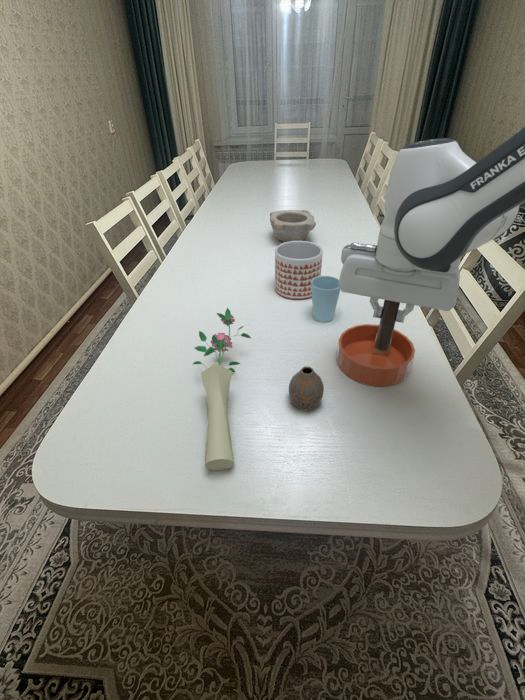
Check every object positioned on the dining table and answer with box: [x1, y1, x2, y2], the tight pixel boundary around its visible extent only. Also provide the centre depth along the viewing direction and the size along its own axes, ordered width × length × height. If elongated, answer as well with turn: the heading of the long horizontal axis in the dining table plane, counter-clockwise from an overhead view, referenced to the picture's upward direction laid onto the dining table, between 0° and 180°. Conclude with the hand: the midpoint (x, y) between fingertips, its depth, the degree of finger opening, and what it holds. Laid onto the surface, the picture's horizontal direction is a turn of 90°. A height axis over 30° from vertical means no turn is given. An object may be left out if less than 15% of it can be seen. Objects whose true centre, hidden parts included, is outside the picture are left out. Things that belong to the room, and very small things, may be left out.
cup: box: [311, 275, 341, 323], centre depth 95 cm, size 8×8×10 cm
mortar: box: [269, 209, 317, 243], centre depth 139 cm, size 17×17×9 cm
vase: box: [288, 365, 325, 411], centre depth 71 cm, size 7×7×9 cm
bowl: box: [336, 323, 416, 387], centre depth 81 cm, size 16×16×5 cm
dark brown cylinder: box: [375, 299, 401, 351], centre depth 69 cm, size 3×3×13 cm
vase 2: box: [274, 240, 324, 300], centre depth 106 cm, size 14×14×13 cm
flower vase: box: [192, 307, 252, 471], centre depth 72 cm, size 12×12×35 cm
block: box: [373, 335, 392, 356], centre depth 84 cm, size 4×4×4 cm
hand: (388, 318), depth 69 cm, fingers closed on dark brown cylinder, 3 cm apart
